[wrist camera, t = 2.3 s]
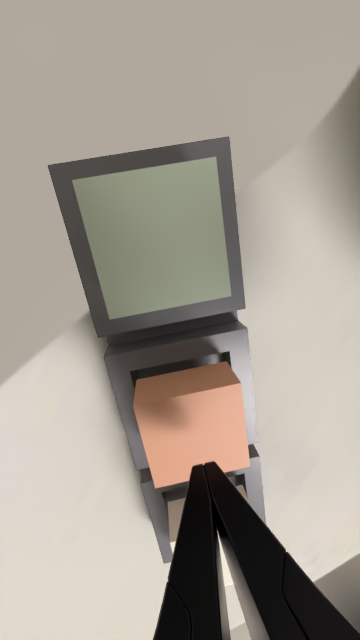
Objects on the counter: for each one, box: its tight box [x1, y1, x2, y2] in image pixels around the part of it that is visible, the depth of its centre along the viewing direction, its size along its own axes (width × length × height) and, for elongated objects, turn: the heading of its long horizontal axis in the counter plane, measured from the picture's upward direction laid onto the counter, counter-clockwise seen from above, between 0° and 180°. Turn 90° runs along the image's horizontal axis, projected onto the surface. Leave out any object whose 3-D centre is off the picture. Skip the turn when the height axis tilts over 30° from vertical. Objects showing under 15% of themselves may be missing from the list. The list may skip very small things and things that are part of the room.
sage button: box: [72, 157, 231, 320], centre depth 9 cm, size 4×4×2 cm
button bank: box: [48, 137, 266, 563], centre depth 13 cm, size 23×7×2 cm, turn 10°
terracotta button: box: [133, 361, 250, 488], centre depth 11 cm, size 4×4×2 cm
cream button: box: [168, 485, 250, 587], centre depth 13 cm, size 4×4×2 cm
